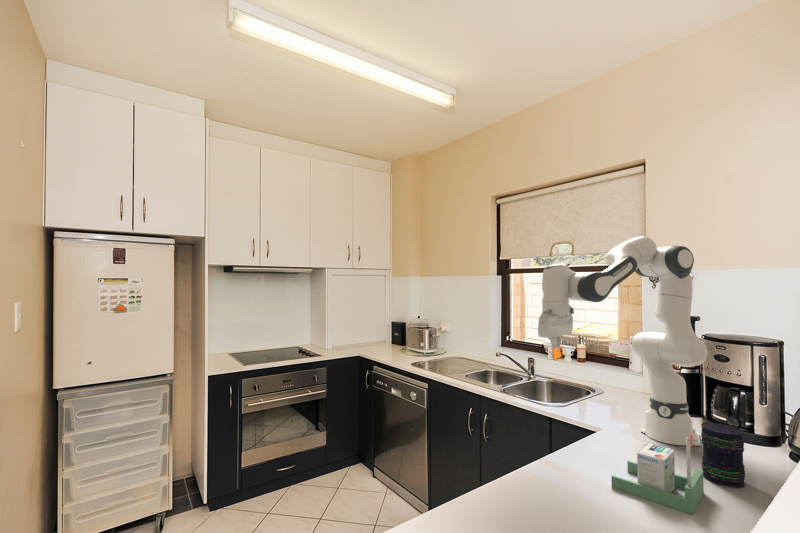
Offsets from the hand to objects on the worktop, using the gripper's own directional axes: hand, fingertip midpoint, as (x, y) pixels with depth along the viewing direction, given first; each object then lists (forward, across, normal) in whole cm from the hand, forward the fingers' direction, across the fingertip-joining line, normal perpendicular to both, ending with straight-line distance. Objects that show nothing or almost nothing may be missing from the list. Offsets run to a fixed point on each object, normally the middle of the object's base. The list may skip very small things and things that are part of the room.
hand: (555, 348), depth 141 cm
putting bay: (+34, -8, -32) cm, 47 cm away
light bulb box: (+34, -9, -32) cm, 48 cm away
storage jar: (+34, +13, -44) cm, 57 cm away
